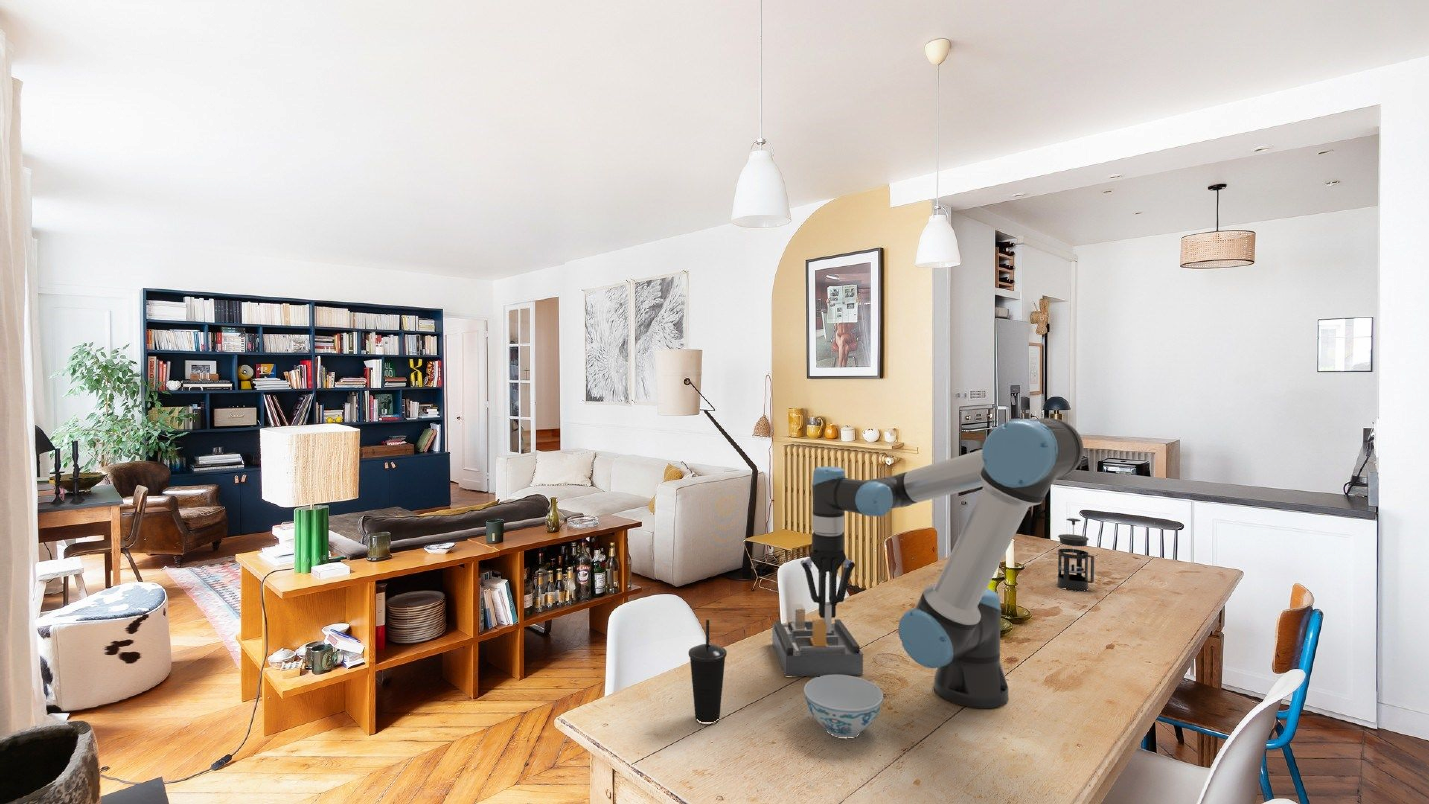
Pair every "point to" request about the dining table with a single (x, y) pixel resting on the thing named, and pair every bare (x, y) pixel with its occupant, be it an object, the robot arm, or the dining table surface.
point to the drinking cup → (707, 678)
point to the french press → (1073, 580)
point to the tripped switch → (818, 632)
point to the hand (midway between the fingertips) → (826, 630)
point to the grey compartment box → (815, 648)
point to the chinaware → (843, 703)
